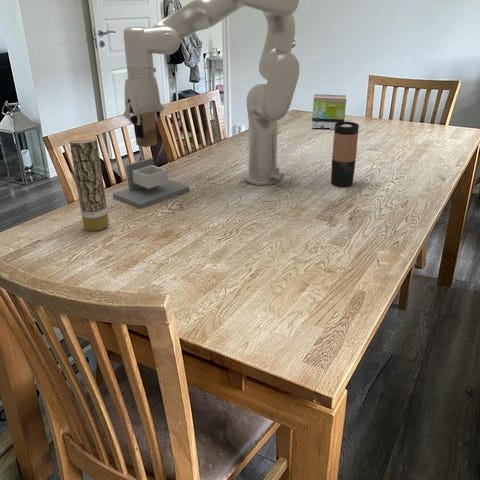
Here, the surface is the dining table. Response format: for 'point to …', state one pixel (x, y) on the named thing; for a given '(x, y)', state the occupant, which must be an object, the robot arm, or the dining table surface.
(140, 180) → the bracket stand
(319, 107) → the tea box
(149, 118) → the rail post
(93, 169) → the brown bark cylinder
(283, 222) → the dining table surface
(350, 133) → the travel mug
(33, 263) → the dining table surface
